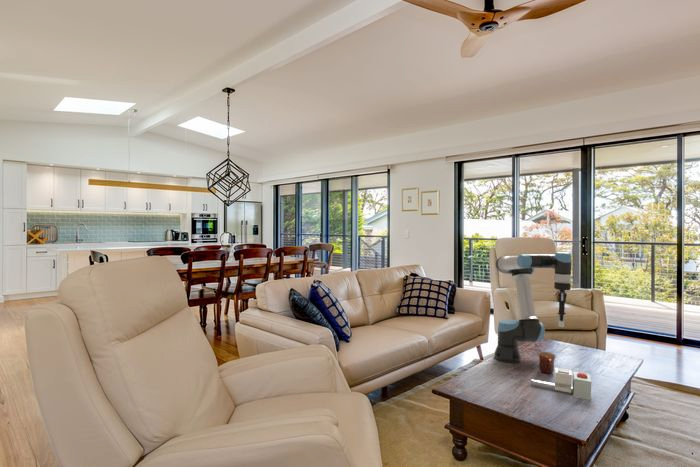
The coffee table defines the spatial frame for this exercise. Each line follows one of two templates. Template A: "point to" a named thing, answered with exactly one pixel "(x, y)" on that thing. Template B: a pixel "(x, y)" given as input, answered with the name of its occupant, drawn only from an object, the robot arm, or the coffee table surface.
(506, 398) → the coffee table surface
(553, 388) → the rail
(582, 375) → the button
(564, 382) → the cream and grey block
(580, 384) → the end cabinet
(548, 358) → the mug
